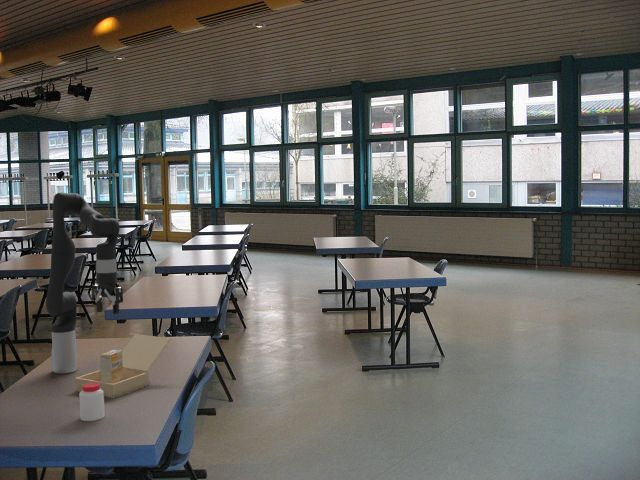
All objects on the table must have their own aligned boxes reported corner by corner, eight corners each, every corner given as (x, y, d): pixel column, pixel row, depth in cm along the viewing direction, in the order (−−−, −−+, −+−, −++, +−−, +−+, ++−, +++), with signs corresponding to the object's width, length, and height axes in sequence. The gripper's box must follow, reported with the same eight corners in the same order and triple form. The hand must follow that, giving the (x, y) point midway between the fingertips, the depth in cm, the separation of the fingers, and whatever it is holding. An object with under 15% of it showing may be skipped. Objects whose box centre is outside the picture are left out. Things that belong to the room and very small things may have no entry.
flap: (135, 334, 280) (136, 335, 280) (111, 365, 269) (111, 366, 269) (170, 338, 271) (171, 339, 271) (146, 370, 259) (147, 372, 260)
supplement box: (112, 389, 252) (110, 355, 251) (101, 388, 253) (99, 354, 252) (124, 383, 260) (122, 349, 259) (113, 382, 261) (111, 349, 260)
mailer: (75, 391, 254) (75, 378, 254) (111, 378, 270) (111, 366, 269) (113, 398, 244) (113, 384, 244) (148, 385, 260) (148, 372, 259)
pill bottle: (83, 413, 228) (82, 382, 227) (107, 412, 228) (105, 381, 227) (77, 421, 220) (75, 388, 219) (101, 420, 221) (100, 387, 220)
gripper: (127, 270, 255) (128, 313, 256) (100, 268, 262) (102, 309, 263) (112, 273, 248) (113, 316, 250) (85, 270, 255) (86, 313, 257)
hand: (107, 313), depth 256 cm, fingers open, 8 cm apart
